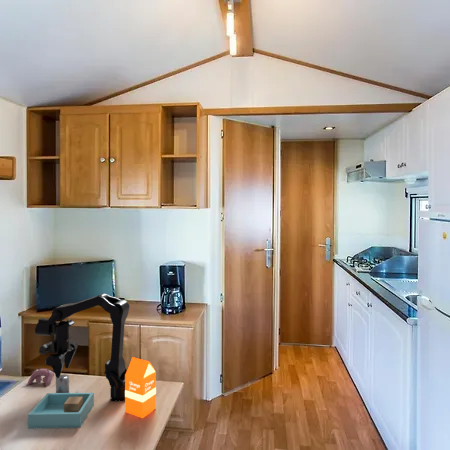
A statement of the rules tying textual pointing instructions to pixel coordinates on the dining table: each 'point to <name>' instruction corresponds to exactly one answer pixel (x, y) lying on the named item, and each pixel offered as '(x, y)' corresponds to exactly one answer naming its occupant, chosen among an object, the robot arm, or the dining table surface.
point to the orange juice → (140, 388)
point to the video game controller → (37, 376)
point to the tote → (59, 411)
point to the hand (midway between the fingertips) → (62, 372)
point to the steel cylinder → (62, 384)
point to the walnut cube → (73, 404)
